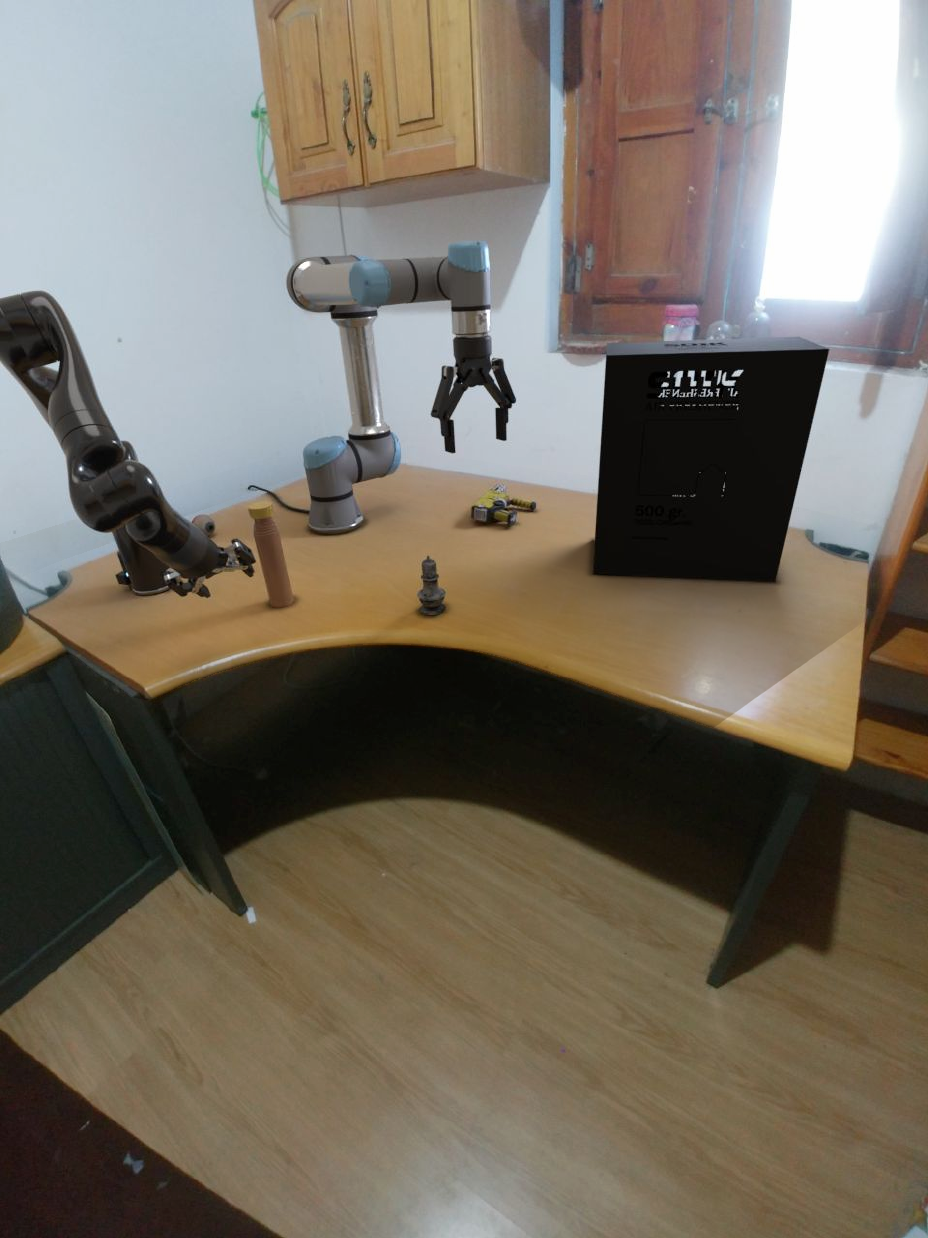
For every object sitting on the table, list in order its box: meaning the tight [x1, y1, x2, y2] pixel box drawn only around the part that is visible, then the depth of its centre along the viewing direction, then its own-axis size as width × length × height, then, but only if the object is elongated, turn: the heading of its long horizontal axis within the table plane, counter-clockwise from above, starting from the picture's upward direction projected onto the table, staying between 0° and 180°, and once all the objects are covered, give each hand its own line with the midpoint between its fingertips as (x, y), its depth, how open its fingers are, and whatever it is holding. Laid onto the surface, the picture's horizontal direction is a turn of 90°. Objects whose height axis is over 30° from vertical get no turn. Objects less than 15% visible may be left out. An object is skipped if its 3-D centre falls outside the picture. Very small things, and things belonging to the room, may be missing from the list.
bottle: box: [252, 516, 295, 608], centre depth 125 cm, size 5×5×22 cm
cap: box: [247, 500, 275, 520], centre depth 120 cm, size 5×5×2 cm
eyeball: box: [191, 514, 216, 537], centre depth 166 cm, size 6×6×6 cm
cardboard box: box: [592, 336, 830, 583], centre depth 128 cm, size 38×20×45 cm, turn 78°
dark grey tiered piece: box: [416, 555, 447, 616], centre depth 121 cm, size 6×6×12 cm
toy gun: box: [470, 483, 537, 527], centre depth 170 cm, size 5×24×15 cm
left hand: (229, 582), depth 110 cm, fingers open, 8 cm apart
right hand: (476, 445), depth 127 cm, fingers open, 13 cm apart
